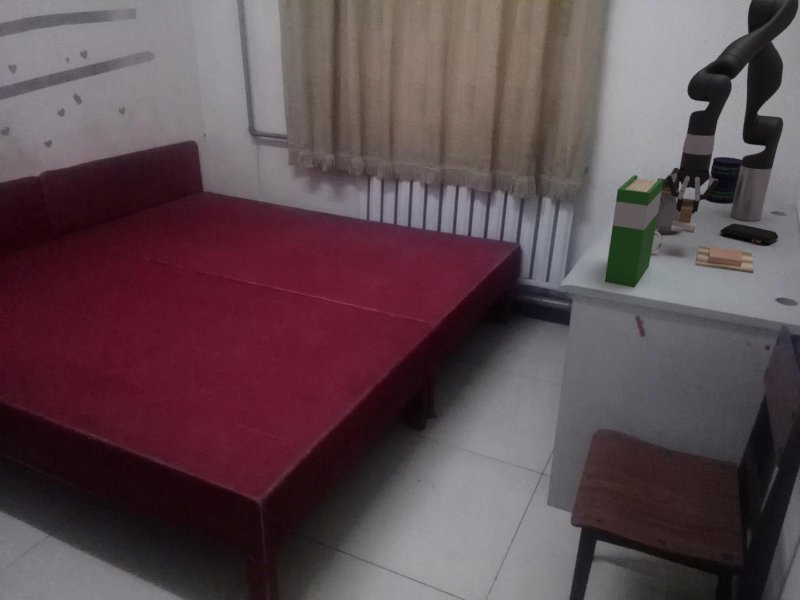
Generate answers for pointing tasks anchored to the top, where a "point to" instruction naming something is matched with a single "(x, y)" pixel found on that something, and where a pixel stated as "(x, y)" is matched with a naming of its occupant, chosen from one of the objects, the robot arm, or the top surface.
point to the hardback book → (633, 230)
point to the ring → (660, 240)
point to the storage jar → (724, 179)
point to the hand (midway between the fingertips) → (686, 211)
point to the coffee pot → (667, 212)
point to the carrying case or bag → (749, 234)
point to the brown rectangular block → (685, 218)
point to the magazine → (666, 185)
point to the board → (704, 261)
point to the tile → (725, 256)
